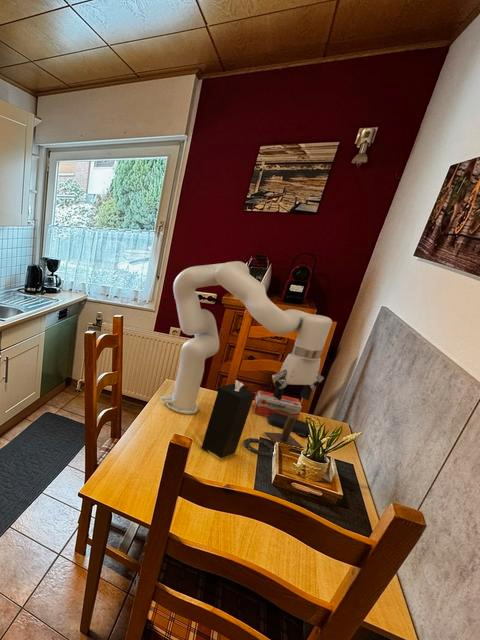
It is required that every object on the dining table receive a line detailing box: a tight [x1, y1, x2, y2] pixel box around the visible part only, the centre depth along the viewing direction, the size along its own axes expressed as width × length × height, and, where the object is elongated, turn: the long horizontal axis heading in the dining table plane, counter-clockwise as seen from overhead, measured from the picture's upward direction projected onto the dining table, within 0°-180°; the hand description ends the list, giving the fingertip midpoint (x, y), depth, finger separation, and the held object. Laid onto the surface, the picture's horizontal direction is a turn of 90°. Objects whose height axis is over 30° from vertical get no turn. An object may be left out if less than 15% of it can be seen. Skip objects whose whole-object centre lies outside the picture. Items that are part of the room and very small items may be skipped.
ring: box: [242, 437, 275, 458], centre depth 140 cm, size 10×10×2 cm
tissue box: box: [201, 379, 256, 459], centre depth 133 cm, size 8×8×28 cm
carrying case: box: [267, 413, 309, 438], centre depth 155 cm, size 11×3×15 cm
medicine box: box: [253, 390, 303, 420], centre depth 164 cm, size 15×8×8 cm, turn 61°
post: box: [263, 415, 305, 449], centre depth 144 cm, size 9×9×12 cm
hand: (290, 398), depth 135 cm, fingers open, 9 cm apart
